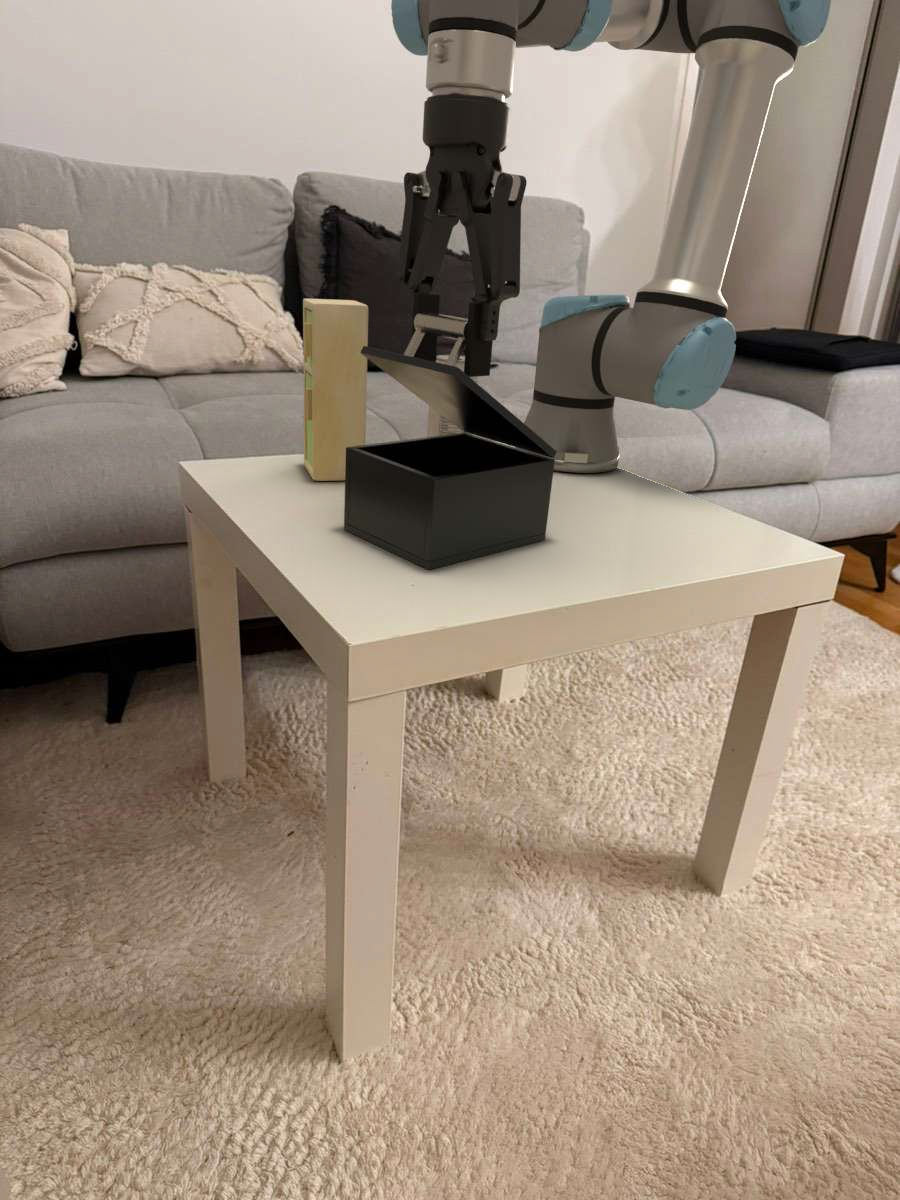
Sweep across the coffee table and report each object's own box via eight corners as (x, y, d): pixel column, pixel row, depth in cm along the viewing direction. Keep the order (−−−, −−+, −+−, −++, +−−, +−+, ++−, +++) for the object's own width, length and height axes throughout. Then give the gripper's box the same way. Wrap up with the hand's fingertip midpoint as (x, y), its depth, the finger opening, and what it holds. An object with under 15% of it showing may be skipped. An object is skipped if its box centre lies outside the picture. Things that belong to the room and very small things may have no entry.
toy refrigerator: (297, 465, 112) (297, 296, 104) (352, 464, 114) (356, 299, 106) (306, 481, 105) (307, 302, 97) (364, 481, 107) (370, 305, 99)
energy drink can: (460, 466, 117) (470, 355, 112) (475, 478, 112) (485, 362, 106) (419, 467, 116) (426, 353, 110) (431, 479, 110) (439, 360, 104)
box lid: (453, 375, 74) (485, 310, 74) (359, 352, 83) (388, 295, 83) (553, 458, 87) (581, 403, 87) (463, 431, 96) (488, 381, 96)
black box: (428, 570, 80) (434, 479, 77) (343, 529, 89) (345, 447, 86) (545, 540, 91) (555, 459, 87) (458, 506, 100) (464, 432, 96)
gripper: (363, 97, 78) (356, 355, 87) (522, 83, 65) (494, 389, 74) (425, 110, 83) (412, 353, 92) (585, 99, 69) (551, 384, 78)
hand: (449, 368), depth 83 cm, fingers closed on box lid, 7 cm apart
